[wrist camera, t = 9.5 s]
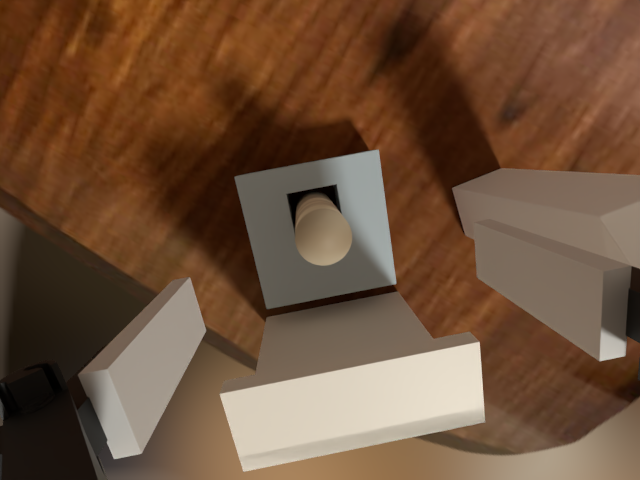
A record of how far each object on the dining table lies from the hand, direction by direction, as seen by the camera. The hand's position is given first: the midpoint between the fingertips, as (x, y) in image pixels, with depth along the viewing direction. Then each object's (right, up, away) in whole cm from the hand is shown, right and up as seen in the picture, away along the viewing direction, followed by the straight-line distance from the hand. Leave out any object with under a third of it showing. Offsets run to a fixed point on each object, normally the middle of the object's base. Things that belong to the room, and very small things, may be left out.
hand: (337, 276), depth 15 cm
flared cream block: (0, -4, +24) cm, 24 cm away
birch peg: (-1, +5, +22) cm, 22 cm away
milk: (+18, +6, +23) cm, 29 cm away
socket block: (-1, +3, +22) cm, 22 cm away
